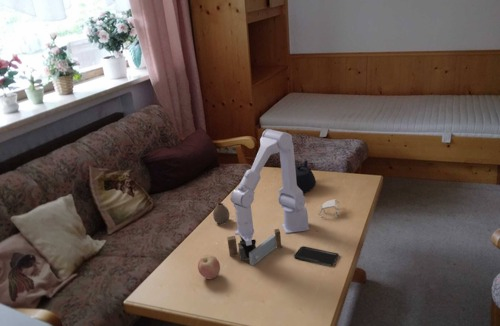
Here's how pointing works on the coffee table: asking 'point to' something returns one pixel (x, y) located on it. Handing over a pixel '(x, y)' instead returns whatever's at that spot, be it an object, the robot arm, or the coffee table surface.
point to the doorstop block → (243, 252)
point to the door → (262, 250)
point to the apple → (209, 267)
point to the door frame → (233, 245)
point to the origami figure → (329, 206)
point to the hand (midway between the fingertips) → (248, 251)
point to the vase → (221, 214)
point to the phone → (316, 256)
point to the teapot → (304, 178)
